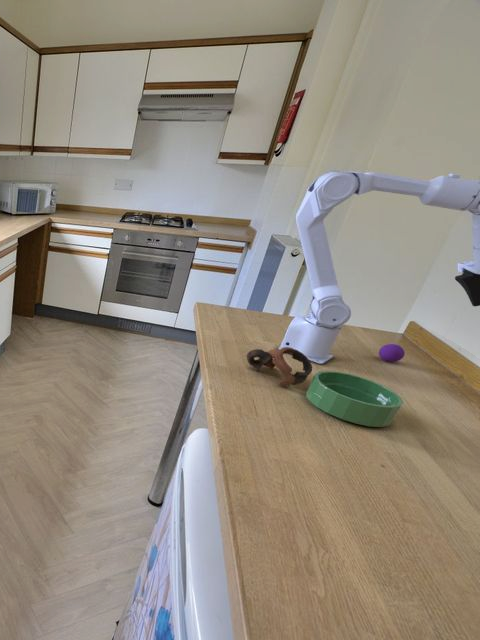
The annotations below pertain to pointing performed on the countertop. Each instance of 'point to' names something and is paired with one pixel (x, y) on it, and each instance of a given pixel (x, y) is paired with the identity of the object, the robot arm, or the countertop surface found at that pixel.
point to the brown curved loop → (281, 364)
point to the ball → (391, 352)
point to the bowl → (354, 398)
